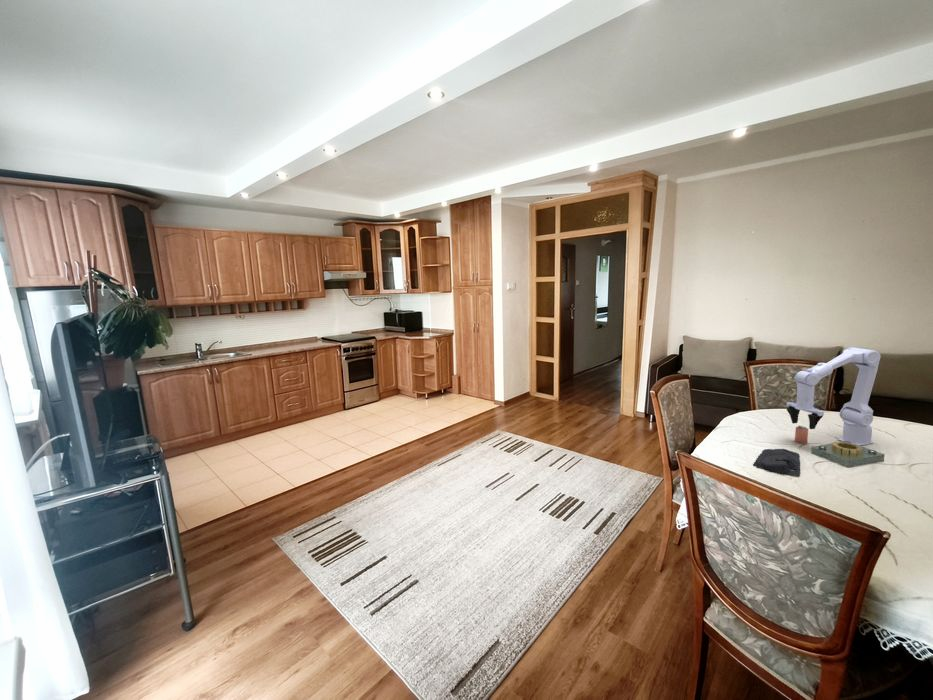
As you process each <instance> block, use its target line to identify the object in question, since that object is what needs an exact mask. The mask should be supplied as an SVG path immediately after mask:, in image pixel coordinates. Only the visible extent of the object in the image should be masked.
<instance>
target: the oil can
mask: <svg viewBox="0 0 933 700" xmlns="http://www.w3.org/2000/svg"><path fill="white" fill-rule="evenodd" d="M794 434H795V435H794V443H796V444H802V445H807V444H808V439H809V427H808V428H807V427H806V426H803V425H798V426H795V433H794Z"/></svg>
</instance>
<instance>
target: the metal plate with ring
mask: <svg viewBox="0 0 933 700" xmlns="http://www.w3.org/2000/svg"><path fill="white" fill-rule="evenodd" d="M810 449H811V450H810V453H811V454H813V455H815V456H817V457H820V458H823V459H825V460H827V461H830V462H833V463H836V464H837V465H840V466H842V467H845V468H848V469H849V468H853V467H857V466H863V465H868V464H875V463H881V462H885V453H882V452H880V451H879V452H878V451H877V450H874V449H870V448H867V447H864V446H863V445H860V446H859V445H856V444H853V443H851V442H848V441H833V442H832V443H827V444H820V445H813V446H811V448H810Z"/></svg>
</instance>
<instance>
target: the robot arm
mask: <svg viewBox="0 0 933 700" xmlns="http://www.w3.org/2000/svg"><path fill="white" fill-rule="evenodd" d="M881 357H882V355H881V354H880V352H878V351H877V350H876V349H875V350H874V349H867V348H861V347H855V346H850V347H848V348H846V349H843V351H842V352H841V354H839V355H837V356H836V357H833V358H832V359H831V360H830V361H828V362H818V363H816V365H814V366H812V367H810V368H807V369H806V370H800V371H798V372H796V374H795V376H794V377H793V379H794V381H795V383H796V386H797V389H796V401H795V402H791V401H788V402H786V407H787V408H786V411H787V413H788V414H789V417H790V420H791V423H792V424H798V421H799V414H800V411H802V412H807V413H808V414H807V417H808V423H809V427H808V429H810V430H815V429H816V427H817V425H818V423H819V421H820V420H821V419H822V418H823V417H824V414H825V411H824V410H820V409H819V408H816V407H815V406H814V399H815V389H816V388H815V387H816V385H818V384H819V382H820V381H821V380H822V379H823V378H825V377H828V376H829V375H831V374H833V370H835V369H837V368H840V367H842V366H844V365H847V364H849V363H852V364H854V365H855V366H856V367H857V368H858V373H857V377H856V381H855V383H854V384H855V385H854V388H853V391H852V395H851V398H850V401H848V402H846V403H844V404H843V406H842V407H841V409H840V410H839V417H840V418H841V419H842V422H843V429H842V437H838V438H836V441H839V442H843V441H848V442H851V443H853V444H856V445H859V446H864V445H870V444H874V441H872V437H873V436H872V433H873V428H872V426H871V424H872V423H873V421H874V416H873V414H874V410H873V409H872V408H871V406H869V401H870V397H871V393H872V390H873V387H874V384H875V379H876V376H877V373H878V368H879V364H880V360H881Z"/></svg>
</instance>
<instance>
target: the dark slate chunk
mask: <svg viewBox="0 0 933 700" xmlns="http://www.w3.org/2000/svg"><path fill="white" fill-rule="evenodd" d="M761 452H762V453H760V454H759V455H758V456H757V457H758V458H757V457H756V460H755V461H754V462H753V464H752V466H753V467H755V468H756V469H759V470H765V471H768V472H770V473H774V474H778V475H783V476H790V477H796V478H797V477H798V478H799V477H800V475H801V460H800V459H801V458H800V457H801V456H800V453H798V452H794V451H792V450H789V449H786V448H767V449H762V451H761Z"/></svg>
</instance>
